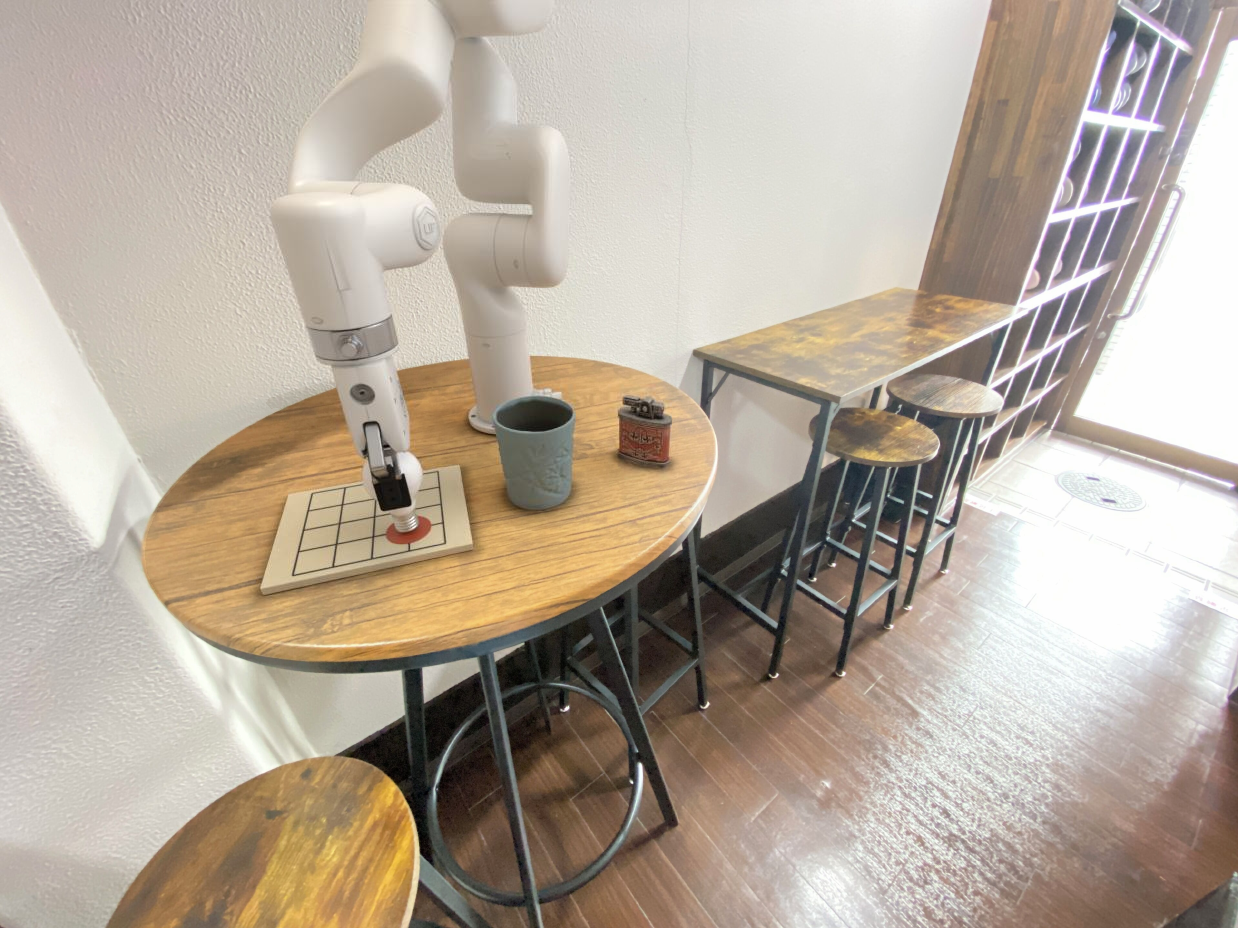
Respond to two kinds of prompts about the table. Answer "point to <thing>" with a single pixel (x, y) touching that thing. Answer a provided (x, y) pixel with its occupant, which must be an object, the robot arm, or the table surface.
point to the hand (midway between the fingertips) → (396, 488)
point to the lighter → (644, 432)
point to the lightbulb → (413, 472)
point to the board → (364, 532)
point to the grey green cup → (536, 450)
